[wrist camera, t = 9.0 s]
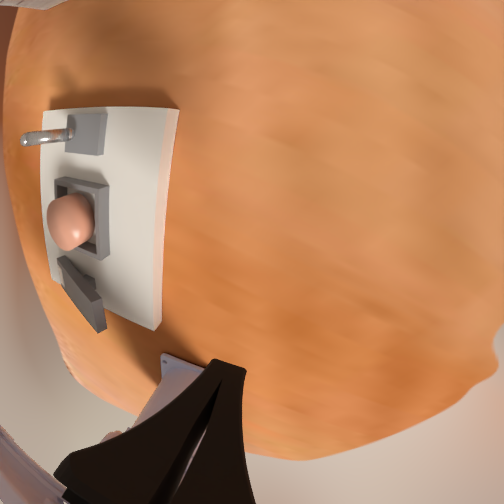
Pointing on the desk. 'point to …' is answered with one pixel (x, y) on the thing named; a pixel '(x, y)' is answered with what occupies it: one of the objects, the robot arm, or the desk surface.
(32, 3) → the supplement box
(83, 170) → the switch panel
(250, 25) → the desk surface
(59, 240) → the push button
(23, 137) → the toggle lever
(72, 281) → the rocker switch
